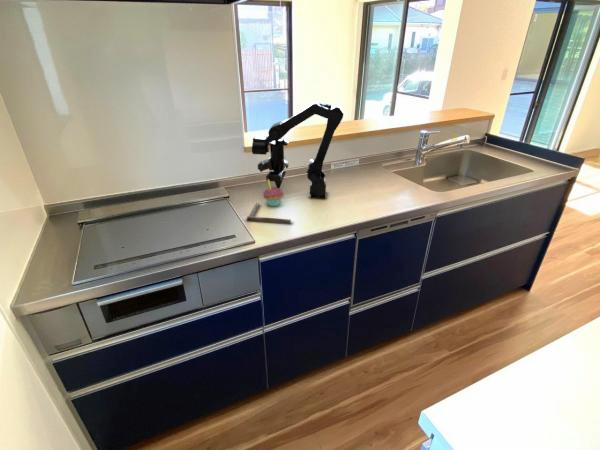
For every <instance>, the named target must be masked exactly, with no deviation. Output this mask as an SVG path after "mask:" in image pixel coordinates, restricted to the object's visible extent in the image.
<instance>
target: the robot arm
mask: <svg viewBox="0 0 600 450" xmlns="http://www.w3.org/2000/svg"><path fill="white" fill-rule="evenodd" d="M314 115H317V116H320V117H322V118H323V119H327V121H326V127H325V130H324V132H323V134H322V135H323V136H322V139H321V141H320V142H319V143H320V144H319V146H318V148H317V152H316V155H315V157H314V159H310V160H309V162H308V163H309V164H308V166H307V168H306V171H305V172H306V176H307V179H308V180H309V181H310V182H311V184H310V186H309V195H310V199H321V200H322V199H323V200H325V199H326V198H327V197H326V196H327V181H326V179H327V174H326V173H325V172H324V171H323V165H324V161H325V158H326V156H327V154H328V151H329V148H330V145H331V142H332V139H333V137H334V134H335V131H336V130H337V129H338V127H339V126H340V124H341V122H342V121H343V118H344V108H343V107H342V106H341V105H340V104H333V105H332V104H327V103H321V102H319V101H318V102H317V101H313V102H312V103H310V104H309V105H308V106H306V107H305V108H303V109H301V110H300V111H299V112H296V113H295V114H293V115H292V116H291V117H289V118H286V119H285V120H281V121H278V122H275V123H273V124H272V125H271V126H270V128H269V129H268V134H267V135H266V137H264V138H263V137H261V138H260V137H253V138H252V145H251V153H252V155H262V156H263V155H268V153H270V154H269V155H270V157H269V158H268V159H264V160H261V161H260V162H258V164H257V170H259V172H260V173H263V172H264V171H266V170H269V172H268V173H267V174H266V176H265V180H266V181H267V182H268V180H269V181H270V182H274V184H275V187H276V188H279V189H281V187H282V184H283V181H284V179H285V176H286V173H287V172H286V170H285V169H288V168H289V162H288V161H287V160H285V159H286V155H285V146H289V141H288V140H286V138H285V135H287V133H289V131H291V130H292V129H293V128H296V126H299V125H300V124H302V123H303V122H305V121H307V120H308V119H310V118H311V117H313V116H314ZM283 137H284V138H283Z"/></svg>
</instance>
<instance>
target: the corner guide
mask: <svg viewBox="0 0 600 450" xmlns="http://www.w3.org/2000/svg"><path fill="white" fill-rule="evenodd" d="M259 207H260V202H256V203H255V205H254V207H253V208H252V210H251V212H250V214H249V215H248V216H247V217H246V221H247V222H259V223H272V224H283V225H284V224H285V225H291V223H292V219H290V218H279V217H277V218H275V217H262V216H255V214H256V213H257V212H258V209H259Z"/></svg>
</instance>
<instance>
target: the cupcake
mask: <svg viewBox="0 0 600 450" xmlns="http://www.w3.org/2000/svg"><path fill="white" fill-rule="evenodd" d="M267 183H268V188H265V189H264V191H263V192H262V197H263V198H264V199H265V201H266V202H267V205H268V206H269V207H278V206H279V205H280V203H281V200H282V199H283V198H284V192H283V190H282V188H280V189H279V188H277V187H276V186H271V181H269V180H268V181H267Z"/></svg>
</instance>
